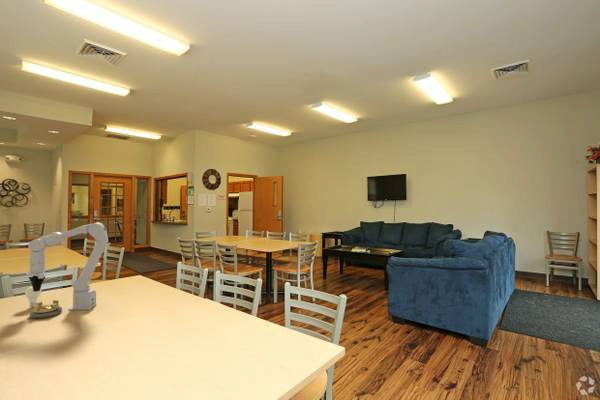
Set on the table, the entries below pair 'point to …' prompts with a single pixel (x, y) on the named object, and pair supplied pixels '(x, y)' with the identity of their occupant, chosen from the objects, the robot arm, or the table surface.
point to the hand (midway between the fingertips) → (36, 291)
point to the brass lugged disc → (46, 307)
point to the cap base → (45, 314)
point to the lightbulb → (32, 296)
